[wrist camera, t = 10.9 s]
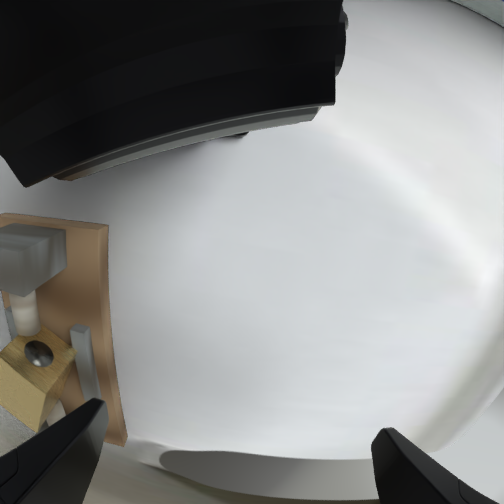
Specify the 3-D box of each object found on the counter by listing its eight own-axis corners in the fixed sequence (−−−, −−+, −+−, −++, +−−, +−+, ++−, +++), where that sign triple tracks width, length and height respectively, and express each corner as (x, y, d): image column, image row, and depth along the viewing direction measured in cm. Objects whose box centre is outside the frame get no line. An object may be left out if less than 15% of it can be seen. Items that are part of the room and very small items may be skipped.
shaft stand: (5, 212, 17) (-52, 232, 11) (108, 224, 18) (54, 254, 12) (45, 409, 23) (20, 449, 17) (127, 436, 24) (110, 485, 18)
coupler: (62, 394, 19) (37, 433, 14) (25, 366, 18) (-4, 401, 14) (77, 350, 18) (45, 394, 13) (35, 318, 17) (-3, 354, 12)
